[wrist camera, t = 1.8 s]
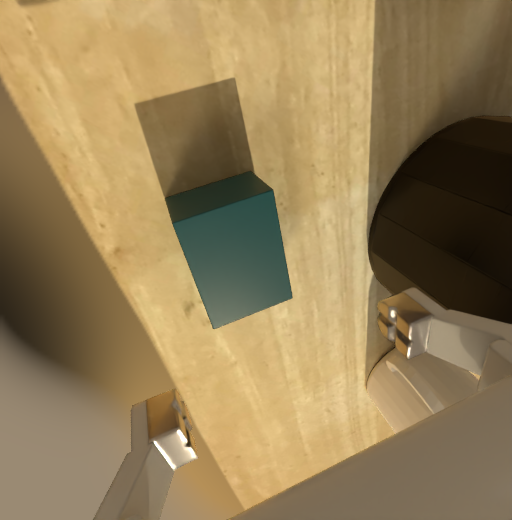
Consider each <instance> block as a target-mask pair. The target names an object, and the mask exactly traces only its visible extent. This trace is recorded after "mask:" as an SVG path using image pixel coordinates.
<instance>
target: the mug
mask: <svg viewBox="0 0 512 520" xmlns="http://www.w3.org/2000/svg"><path fill="white" fill-rule="evenodd" d="M478 382H479V380H478V379H477V378H476V377H475V376H474V375H473V374H471V373H470V372H469V371H468V370H466V369H464V368H461V367H459V366H457V365H455V364H452V363H450V362H448V361H445V360H443V359H441V358H438V357H436V356H434V355H431V354H429V353H427V352H425V353H422V354H420V355H418V356H416V357H413V358H411V359H409V360H407V358H406V357H405V356H404V355H403V354H402V353H401V352H400V351H399V350H398V349H397V348H394V349H393V350H391V351H390V352H389V353H387V354H386V355H385V356H384V357H383V358H382V359H381V360H380V361H379V362H378V363H377V364H376V366H375V367H374V369H373V370H372V371H371V374H370V376H369V378H368V381H367V393H368V397H369V398H370V399H371V401H372V402H373V403H374V405H375V406H376V408H377V409H378V410H379V412H380V413H381V414H382V416H383V417H384V418H385V420H386V421H387V422H388V424H389V425H390V426H391V428H392V429H393V431H394V432H395V433H398V432H400V431H402V430H404V429H406V428H408V427H409V426H411V425H413V424H415V423H417V422H419V421H421V420H423V419H425V418H427V417H429V416H431V415H433V414H435V413H437V412H439V411H441V410H443V409H445V408H447V407H449V406H451V405H453V404H455V403H457V402H459V401H461V400H463V399H465V398H466V397H468V396H470V395H472V394H474V393H476V392H478V390H477V388H478Z"/></svg>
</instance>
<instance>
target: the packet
mask: <svg viewBox="0 0 512 520" xmlns="http://www.w3.org/2000/svg"><path fill="white" fill-rule="evenodd" d="M165 201H166V204H167V207H168V211H169V214H170V217H171V221H172V224H173V227H174V229H175V232H176V234H177V237H178V239H179V242H180V245H181V247H182V250H183V252H184V255H185V257H186V260H187V263H188V265H189V268H190V270H191V273H192V275H193V278H194V281H195V283H196V286H197V288H198V291H199V293H200V296H201V299H202V301H203V304H204V306H205V309H206V311H207V314H208V317H209V319H210V322H211V324H212V327H213V329H216V328H219V327H221V326H224V325H226V324H229V323H231V322H234V321H236V320H239V319H241V318H244V317H246V316H249V315H251V314H254V313H256V312H259V311H261V310H264V309H266V308H269V307H271V306H274V305H277V304H279V303H282V302H284V301H287V300H289V299H292V298H293V297H292V291H291V286H290V280H289V275H288V269H287V264H286V258H285V253H284V247H283V242H282V236H281V231H280V225H279V220H278V214H277V209H276V203H275V197H274V192H273V189H271V188H270V187H269V186H268V185H267V184H265V183H264V182H263V181H262V180H261V179H259V178H258V177H257V176H256V175H255V174H253V173H252V172H251V171H249V172H246V173H243V174H239V175H236V176H233V177H230V178H227V179H224V180H221V181H217V182H214V183H211V184H208V185H205V186H202V187H199V188H195V189H192V190H189V191H186V192H183V193H180V194H177V195H173V196H170V197H167V198H165Z"/></svg>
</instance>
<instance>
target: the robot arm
mask: <svg viewBox="0 0 512 520" xmlns="http://www.w3.org/2000/svg"><path fill="white" fill-rule="evenodd" d="M378 310H379V311H380V314H379V316H378V317H377V319H378V326H379V328H380V331H381V332H382V334H383V335H384V336H385V337H386V338H387V339H388V340H391V341H394V342H395V346H396V348H397V349H398V350H399V351H400V352H401V353H402V354H403V355H404V356H405V357H406V358H407V360H409V359H411V358H413V357H416V356H418V355H420V354H422V353H425V352H427V353H429V354H431V355H434V356H436V357H438V358H441V359H443V360H445V361H448V362H450V363H452V364H455V365H457V366H459V367H461V368H464V369H466V370H468V371H471V372H473V373H475V374H478V375H480V379H479V382H478V388H477V390H478V392H476V393H474V394H472V395H470V396H468V397H466V398H465V399H463V400H461V401H459V402H457V403H455V404H453V405H451V406H449V407H447V408H445V409H443V410H441V411H439V412H437V413H435V414H433V415H431V416H429V417H427V418H425V419H423V420H421V421H419V422H417V423H415V424H413V425H411V426H409V427H408V428H406V429H404V430H402V431H400V432H398V433H396V434H394V435H392V436H390V437H388V438H386V439H384V440H382V441H380V442H378V443H376V444H374V445H372V446H370V447H368V448H366V449H364V450H362V451H360V452H358V453H356V454H354V455H353V456H351V457H349V458H347V459H345V460H343V461H341V462H339V463H337V464H335V465H333V466H331V467H329V468H327V469H325V470H323V471H321V472H319V473H317V474H315V475H313V476H311V477H309V478H307V479H305V480H304V481H302V482H300V483H298V484H296V485H294V486H292V487H290V488H288V489H286V490H284V491H282V492H280V493H278V494H276V495H274V496H272V497H270V498H268V499H266V500H264V501H262V502H260V503H258V504H256V505H255V506H253V507H251V508H249V509H247V510H245V511H243V512H241V513H239V514H237V515H235V516H233V517H231V518H229V519H227V520H512V324H508V323H504V322H499V321H495V320H491V319H487V318H483V317H479V316H475V315H471V314H467V313H463V312H459V311H455V310H451V309H450V310H445V309H444V308H442V307H441V306H440V305H438V304H437V303H436V302H434V301H433V300H432V299H430V298H429V297H427V296H426V295H425V294H423V293H422V292H421V291H419V290H418V289H417V288H414V287H412V288H409V289H407V290H405V291H402V292H399V293H397V294H395V295H393V296H390V297H388V298H386V299H384V300H381V301H379V303H378ZM191 429H192V424H191V419H190V416H189V412H188V409H187V407H186V405H185V403H184V401H181V400H180V394H179V392H178V391H177V389H176V388H175V389H172V390H170V391H167V392H165V393H162V394H160V395H157V396H154V397H152V398H150V399H147V400H145V401H143V402H140V403H137V404H135V405H132V409H131V449H132V450H131V452H130V453H128V454H127V455H126V457H125V459H124V461H123V463H122V465H121V467H120V469H119V471H118V472H117V475H116V477H115V478H114V480H113V482H112V484H111V486H110V488H109V490H108V492H107V494H106V496H105V498H104V500H103V502H102V503H101V506H100V507H99V510H98V512H97V513H96V515H95V517H94V519H93V520H159V519H160V516H161V512H162V509H163V506H164V503H165V500H166V497H167V493H168V490H169V487H170V484H171V481H172V477H173V474H174V470H175V469H177V468H179V467H181V466H183V465H185V464H187V463H189V462H191V461H193V460H195V459H197V458H198V456H197V450H196V445H195V440H194V438H193V436H192V434H191Z"/></svg>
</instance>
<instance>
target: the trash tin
mask: <svg viewBox="0 0 512 520" xmlns="http://www.w3.org/2000/svg"><path fill="white" fill-rule="evenodd" d="M368 252H369V260H370V264H371V267H372V271H373V272H374V274H375V276H376V278H377V279H378V281H379V282H380V283H381V284H382V285H383V286H384V287H385V288H386V289H387V290H388V291H389V292H390V293H391V294H392V295H395V294H397V293H399V292H402V291H405V290H407V289H409V288H412V287H414V288H417V289H418V290H419V291H421V292H422V293H423V294H425V295H426V296H427V297H429V298H430V299H432V300H433V301H434V302H436V303H437V304H438V305H440V306H441V307H442V308H444V309H445V310H450V309H451V310H455V311H459V312H463V313H467V314H471V315H475V316H479V317H483V318H487V319H491V320H495V321H499V322H504V323H508V324H512V117H509V116H477V117H471V118H468V119H464V120H461V121H458V122H456V123H454V124H452V125H450V126H447V127H446V128H444V129H442V130H441V131H439V132H438V133H436V134H435V135H433V136H432V137H431V138H429V139H428V140H427V141H425V142H424V143H423V144H422V145H421V146H420V147H419V148H418V149H417V150H415V151H414V152H413V153H412V154H411V155H410V157H409V158H408V159H407V160H406V161H405V162H404V163H403V165H402V166H401V167H400V168H399V170H398V171H397V172H396V174H395V175H394V177H393V178H392V180H391V181H390V183H389V185H388V186H387V188H386V189H385V191H384V193H383V195H382V197H381V199H380V201H379V203H378V206H377V209H376V211H375V214H374V217H373V220H372V224H371V228H370V234H369V245H368Z"/></svg>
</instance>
